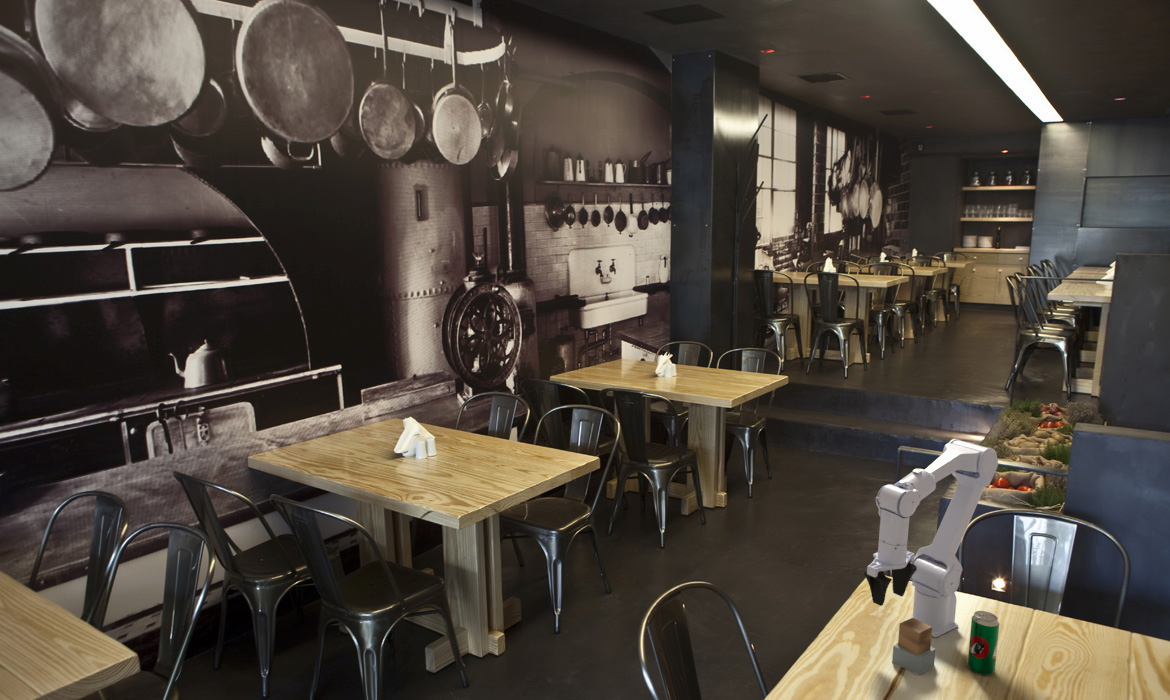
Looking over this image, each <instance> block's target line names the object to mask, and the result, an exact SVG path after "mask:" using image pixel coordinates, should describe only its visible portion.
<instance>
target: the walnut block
mask: <svg viewBox="0 0 1170 700" xmlns="http://www.w3.org/2000/svg"><path fill="white" fill-rule="evenodd" d="M910 618H911V617H910ZM907 619H908V620H907ZM907 619H905V620H906V621H904V620H903V621H902V622H899V624H898V625H899V628H898V641H897V643H898V646H900V647H902V648H904V649H906V650H908V651H910V652H912V653H913V654H915V655H919V654H921V653H923V652H925V651H927V650H929V649H930V647H932V636H931V635H932V627H931V626H929V625H927V624H925V623H923V622H921V621H919V620H917V619H915V618H911V619H909V618H907Z"/></svg>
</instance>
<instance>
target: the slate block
mask: <svg viewBox="0 0 1170 700" xmlns="http://www.w3.org/2000/svg"><path fill="white" fill-rule="evenodd" d="M891 658H892V659H891V663H893V664H895V665H897V666H899V667H900V668H903V669H905V670H907V671H908V672H909V671H910V672H912V673H913V674H916V675H917V676H921V675H922V674H923V673H925V672H926V671H928V670H930V669H931V668H933V667H934V666H935V658H936V648H934V647H933V646H931V647H930V649H929V650H927V651H925V652H923V653H921V654H919V655H915V654H913V653H912V652H910V651H908V650H906V649H904V648H902V647H900V646H898V642H897V643H896V644H894V645H893V647H892V657H891Z"/></svg>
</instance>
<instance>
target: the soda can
mask: <svg viewBox="0 0 1170 700" xmlns="http://www.w3.org/2000/svg"><path fill="white" fill-rule="evenodd" d="M999 632H1000V622H999V617H998V616H997V615H996V614H994V613H992V612H991V611H990V612H989V611H985V610H977V611H976V610H975V611H974V613H973V615H972V617H971V623H970V634H969V635H970V636H969V645H968V655H967V666H968V667H969V669H970V670H971V671H973V673H976V674H979V675H982V676H990V675H992V674H994V673H995V671H996V664H997V663H996V662H997V654H998V644H999V643H998V641H999V634H1000V633H999Z"/></svg>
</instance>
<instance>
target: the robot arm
mask: <svg viewBox="0 0 1170 700" xmlns="http://www.w3.org/2000/svg"><path fill="white" fill-rule="evenodd" d="M998 467H999V459H998V454H997V451H996V450H995V448H992V447H986V446H982V445H979V444H975V443H971V442H967V441H964V440H960V439H959V438H952V439H951V440H950V441H949V442H948V443H946V444H945V445H944V447H943V449H942V454H941V455H940V456H939V457H937V458H936V459H935V460H934V461H933V462H932V463H931V464H929V465H928V466H927V467H926V468H925V469H923V468H915V469H913V470H912V472H910V473H909V474H907V475H906V476H904V477H903V478H902V479H900V480H899V481H897V482H896V483H894V484H892V483H891V484H890V483H889V484H886V485H883V486H881V488H880V489H879V490H878V492H877V496H876V497H875V503H876V507H877V508H878V513H877V514H878V515H879V517H880V522H879V533H878V534H879V535H878V536H879V537H878V547H877V552H875V553H873V554H872V557H873V558H874V559H873V561H872V562H871V563H870V564H869V565H867V567H866V569H864V571H863V575H864V577H865V579H866V581H867V583H868V586H869V590H870V593H871V598H872V603H874V604H876V605H878V606H881V607H882V606H884V604H885V600H886V595H887V590H888V588H889V585H890V583H891V582H892V594H894V595H897V596H899V597H901V598H902V597H904V595H905V593H906V590H907V587H908V585H909V582H910V580H911V582H912V583H911V586H913V587H914V596H913V605H912V606H913V607H912V616H911V617H909V618H907V619H905V620H903V622H904V621H906V620H908V619H911V618H915V619H917V620H919V621H921V622H923V623H925V624H927V625H929V626H931V627H932V635H931V638H932V637H933V638H938V637H939V636H942V635H944V634H945V633H948V632H950V631H952V630H954V629H956V628H957V627H959V623H958V622H957V623H956V611H957V610H956V609H957V596H956V591H958V588H959V586H960V583H961V579H960V578H961V575H962V573H963V569H964V568H963V567H962V565H961V563H960V562H959V560H958V558H957V556H956V554H957V552H958V550H959V546H960V545H961V542H962V540H963V537H964V535H965V533H966V531H967V529H968V527H969V524H970V522H971V519H972V518H973V515H974V513H975V510H976V509H977V506H978V503H979V502H980V499H981V497H982V494H983V493H984V490H985V488H986V487H989V486H990V484H991V482H992V480H993V478H994V475H995V473H996V471H997V469H998ZM950 475H952V476H953V477H954V478H955V479H956V481H957V486H956V488H955V491H954V492H953V496H952V497H951V500H950V502H949V505H948V506H947V509H946V511H945V513H944V515H943V518H942V520H941V522H940V525H939V527H938V529H937V532H936V534H935V536H934V537H933V540H932V542H931V544H930V545H927V546H923V547H920V548H918V551H917V552H916V554H915V553H914V552H911V551H909V550H908V539H909V527H910V517H912V516H913V515H914V513H915V511H916V510H917V507H918V506H920V504H921V501H922V500H923V499H925V498H926V497H927V496H929V495H930V494H932V492H934V491H935V490H936V488H937V483H938V482H939V481H941V480H943V479H945V478H946V477H947V476H950ZM938 562H939V563H938ZM941 563H942V564H941ZM943 564H944V565H943ZM886 571H891V576H892V578H890V577H888V576H886V574H884V573H885V572H886Z"/></svg>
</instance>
